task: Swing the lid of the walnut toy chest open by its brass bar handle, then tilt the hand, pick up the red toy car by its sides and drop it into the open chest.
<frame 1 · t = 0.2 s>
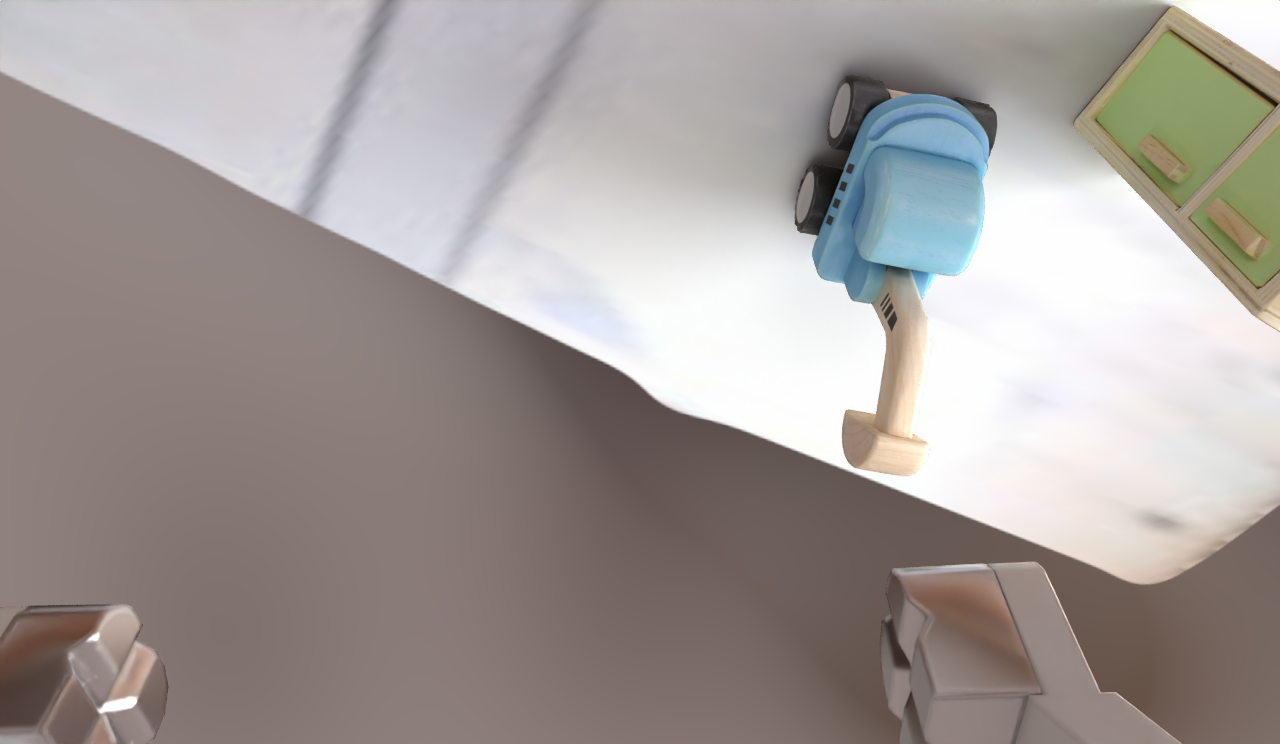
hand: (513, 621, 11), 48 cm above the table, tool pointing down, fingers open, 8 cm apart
toy refrigerator: (1155, 86, 56), on the table
toy excavator: (864, 197, 60), on the table
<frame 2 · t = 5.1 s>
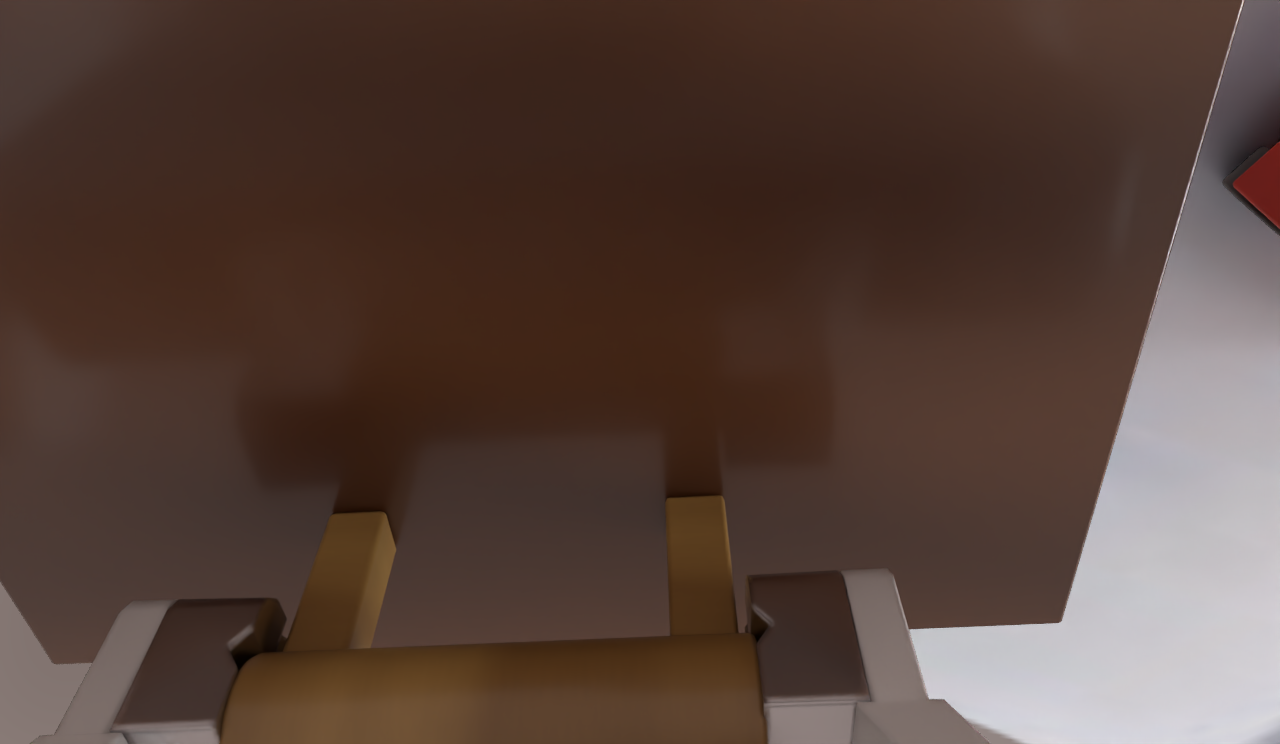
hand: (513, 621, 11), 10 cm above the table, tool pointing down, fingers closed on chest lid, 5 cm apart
chest lid: (440, 214, 8), point 10 cm above the table, hinge at 0.1°, touching gripper
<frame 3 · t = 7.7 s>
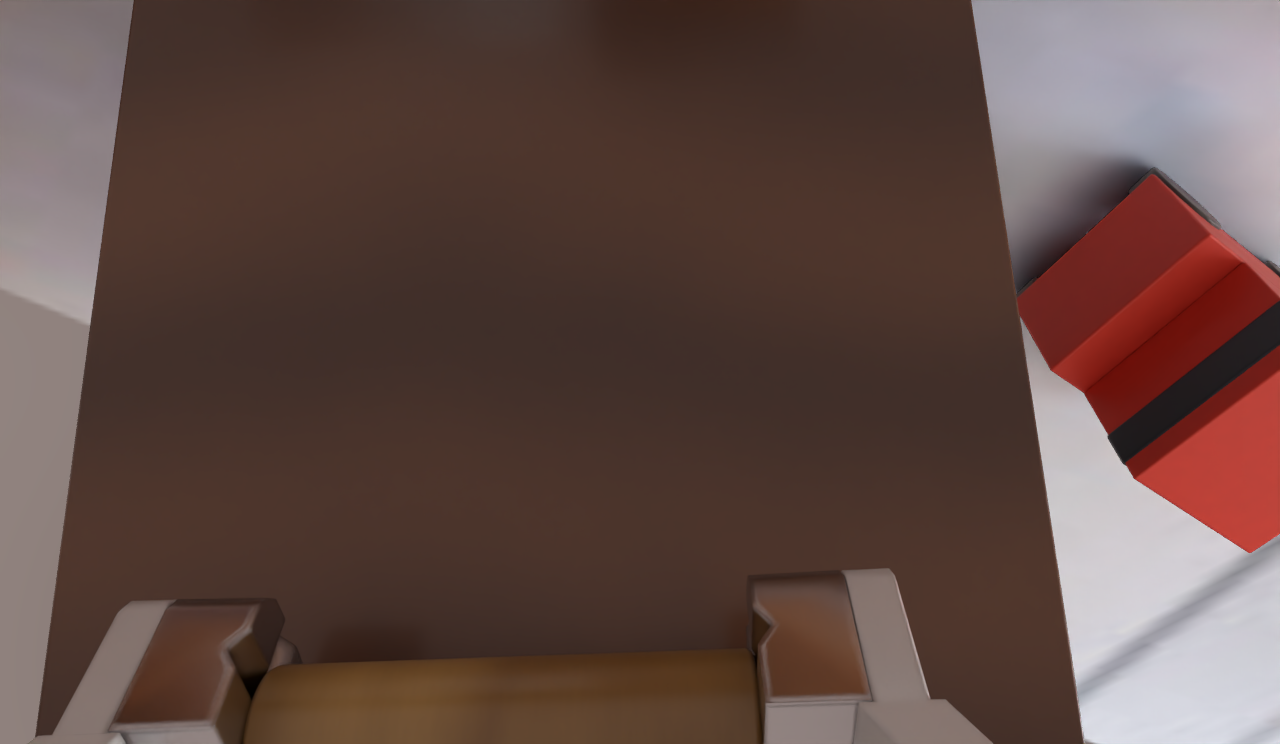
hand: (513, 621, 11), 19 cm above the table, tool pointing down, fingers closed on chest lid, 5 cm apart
toy car: (1152, 286, 30), on the table
chest lid: (531, 333, 13), point 15 cm above the table, hinge at 53.3°, touching gripper
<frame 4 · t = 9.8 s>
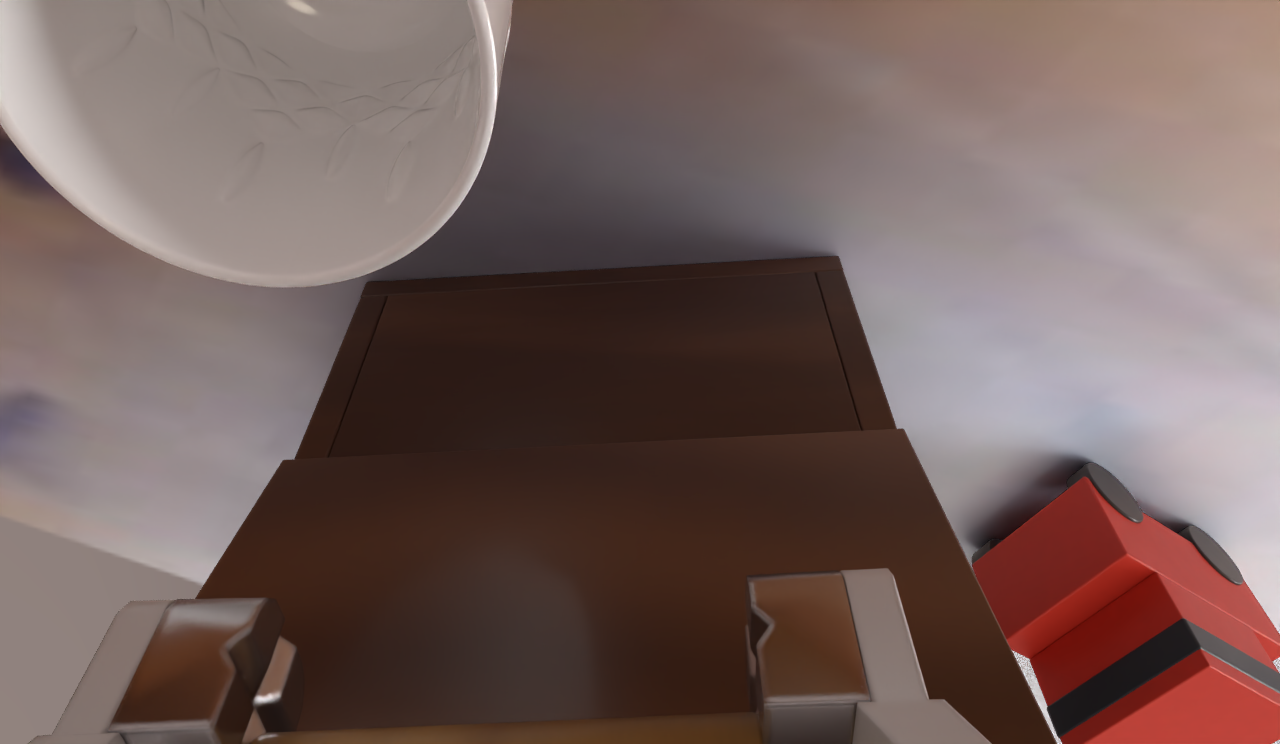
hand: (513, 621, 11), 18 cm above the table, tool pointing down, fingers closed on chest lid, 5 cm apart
toy car: (1092, 542, 35), on the table
chest lid: (560, 603, 15), point 15 cm above the table, hinge at 100.6°, touching gripper
toy chest: (617, 448, 33), on the table
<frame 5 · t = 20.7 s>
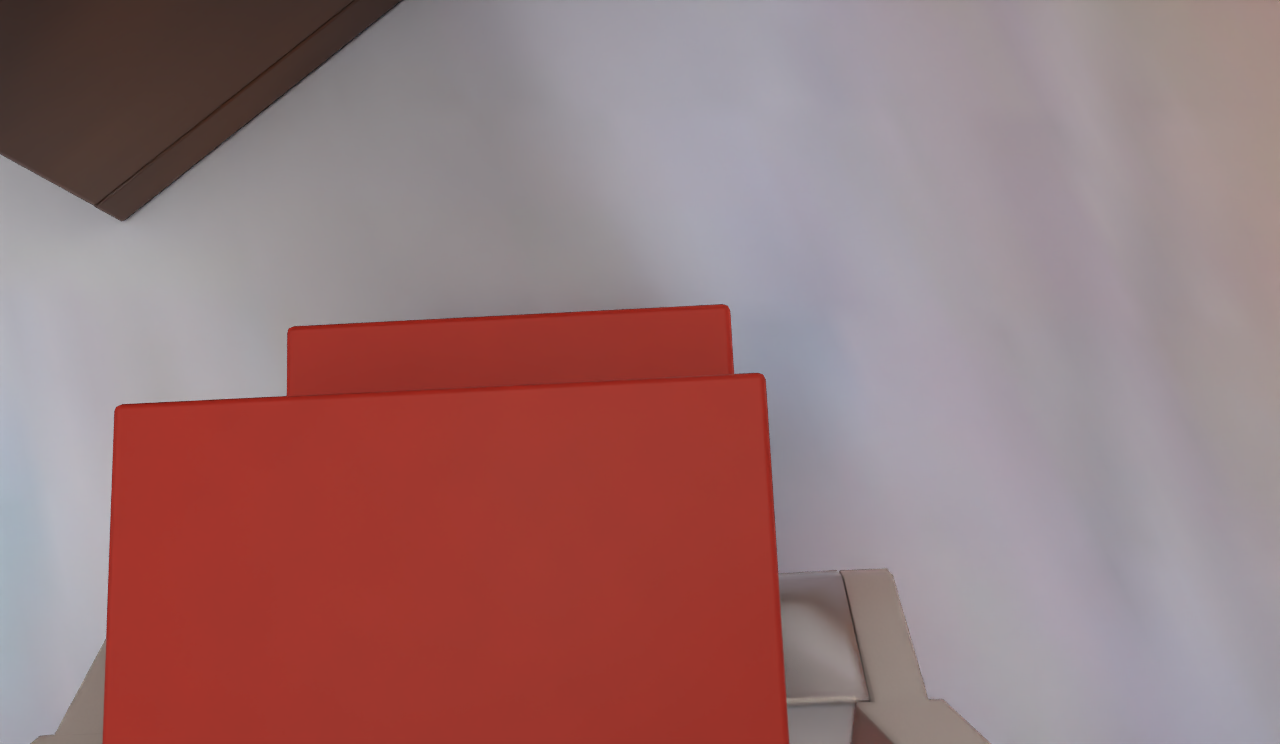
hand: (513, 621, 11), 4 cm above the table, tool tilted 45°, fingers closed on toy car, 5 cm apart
toy car: (563, 636, 15), on the table, touching gripper
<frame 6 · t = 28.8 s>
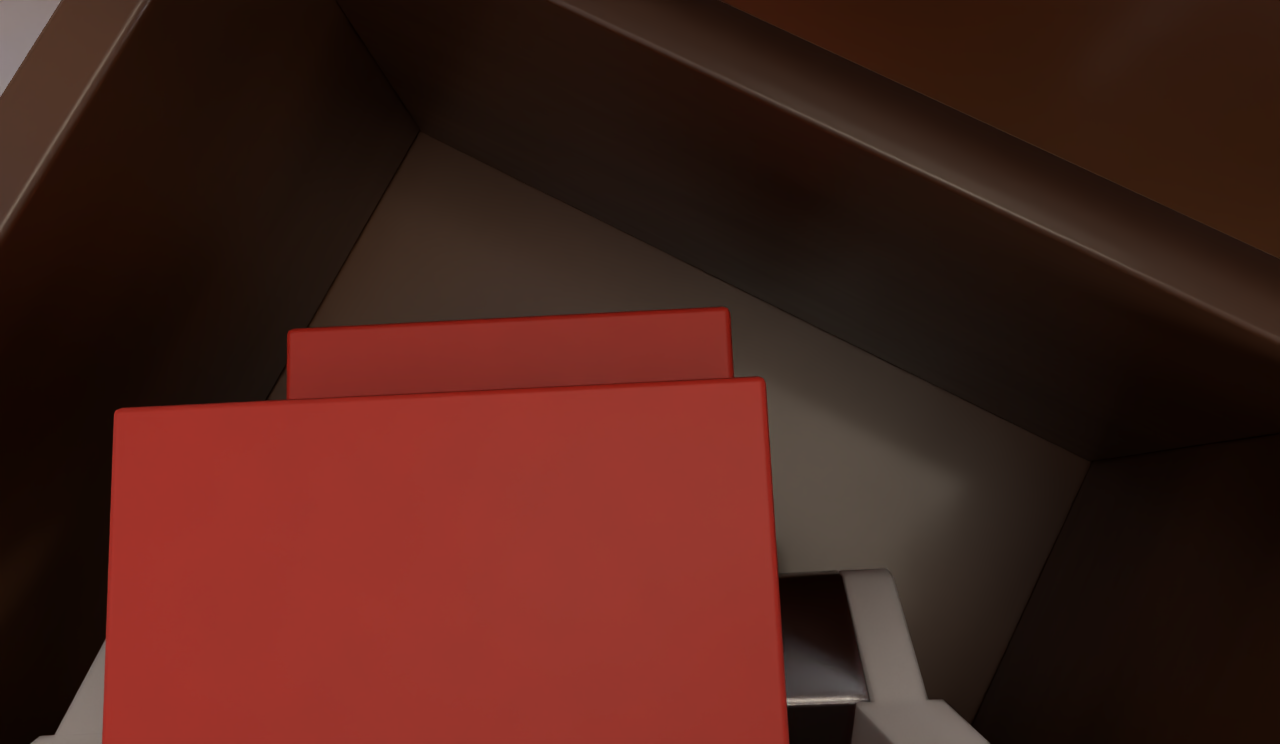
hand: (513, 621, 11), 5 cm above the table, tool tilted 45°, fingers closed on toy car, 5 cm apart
toy car: (563, 638, 15), point 1 cm above the table, touching gripper
toy chest: (573, 625, 16), on the table
when the fingers open (8 cm above the table, at t = 44.0 s): toy car drops 2 cm, resting on toy chest.
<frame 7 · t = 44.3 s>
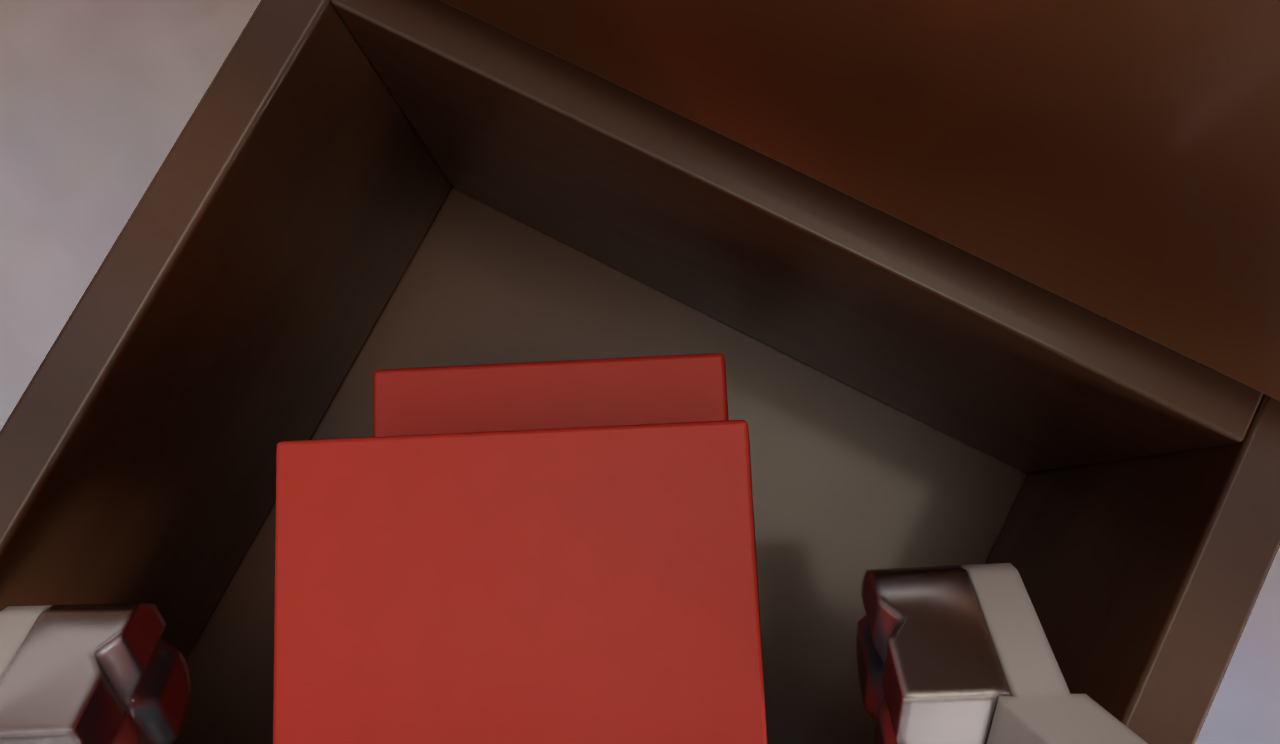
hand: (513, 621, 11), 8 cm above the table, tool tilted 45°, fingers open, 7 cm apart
toy car: (586, 620, 18), point 1 cm above the table, touching toy chest
toy chest: (584, 613, 19), on the table
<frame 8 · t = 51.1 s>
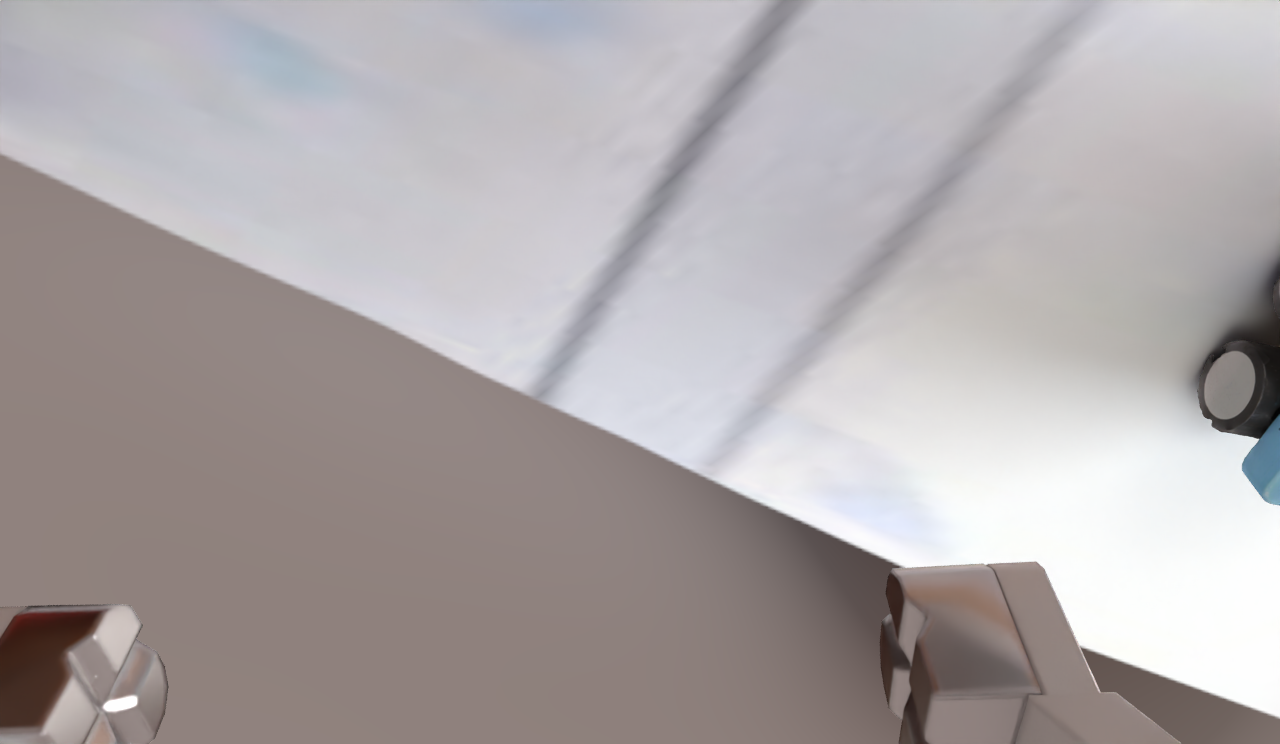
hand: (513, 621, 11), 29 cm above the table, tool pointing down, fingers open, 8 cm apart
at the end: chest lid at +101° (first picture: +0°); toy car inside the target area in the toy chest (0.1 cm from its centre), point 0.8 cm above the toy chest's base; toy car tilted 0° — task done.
